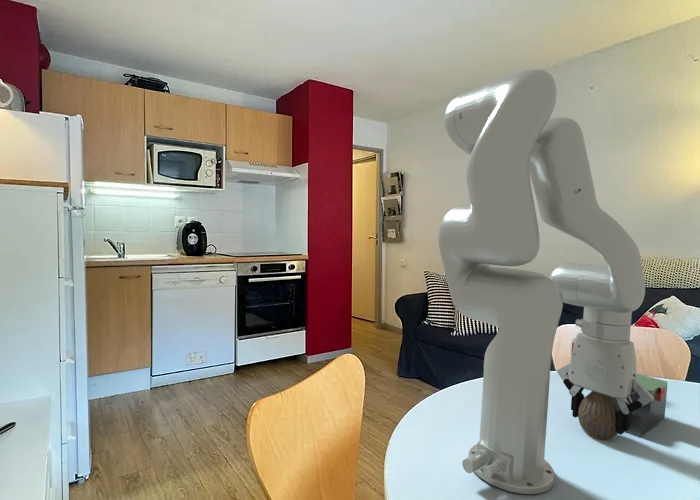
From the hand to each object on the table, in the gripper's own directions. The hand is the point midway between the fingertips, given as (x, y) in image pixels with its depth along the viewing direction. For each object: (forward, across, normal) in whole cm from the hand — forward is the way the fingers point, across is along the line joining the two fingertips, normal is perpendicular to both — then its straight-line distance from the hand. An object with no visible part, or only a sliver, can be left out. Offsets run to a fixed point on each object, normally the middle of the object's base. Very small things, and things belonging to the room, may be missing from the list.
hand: (598, 422), depth 75 cm
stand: (+2, 0, +13) cm, 13 cm away
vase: (+3, 0, 0) cm, 3 cm away
